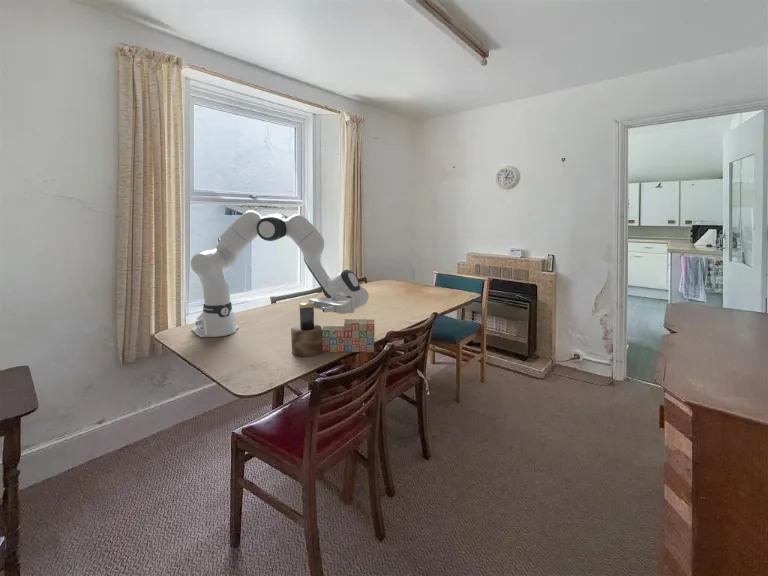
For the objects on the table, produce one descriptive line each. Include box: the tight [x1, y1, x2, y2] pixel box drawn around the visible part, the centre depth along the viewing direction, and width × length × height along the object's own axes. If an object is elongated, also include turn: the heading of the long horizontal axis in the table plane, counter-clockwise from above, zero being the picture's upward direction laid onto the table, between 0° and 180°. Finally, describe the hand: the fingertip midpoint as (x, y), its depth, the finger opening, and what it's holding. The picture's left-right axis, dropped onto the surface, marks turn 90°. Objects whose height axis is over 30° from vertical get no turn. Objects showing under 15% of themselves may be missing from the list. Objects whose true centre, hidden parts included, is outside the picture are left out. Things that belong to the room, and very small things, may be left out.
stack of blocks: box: [322, 318, 376, 353], centre depth 158 cm, size 21×6×12 cm, turn 91°
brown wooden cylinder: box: [290, 323, 323, 358], centre depth 154 cm, size 12×12×10 cm
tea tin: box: [298, 301, 315, 330], centre depth 153 cm, size 6×6×10 cm
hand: (315, 308), depth 155 cm, fingers open, 8 cm apart
